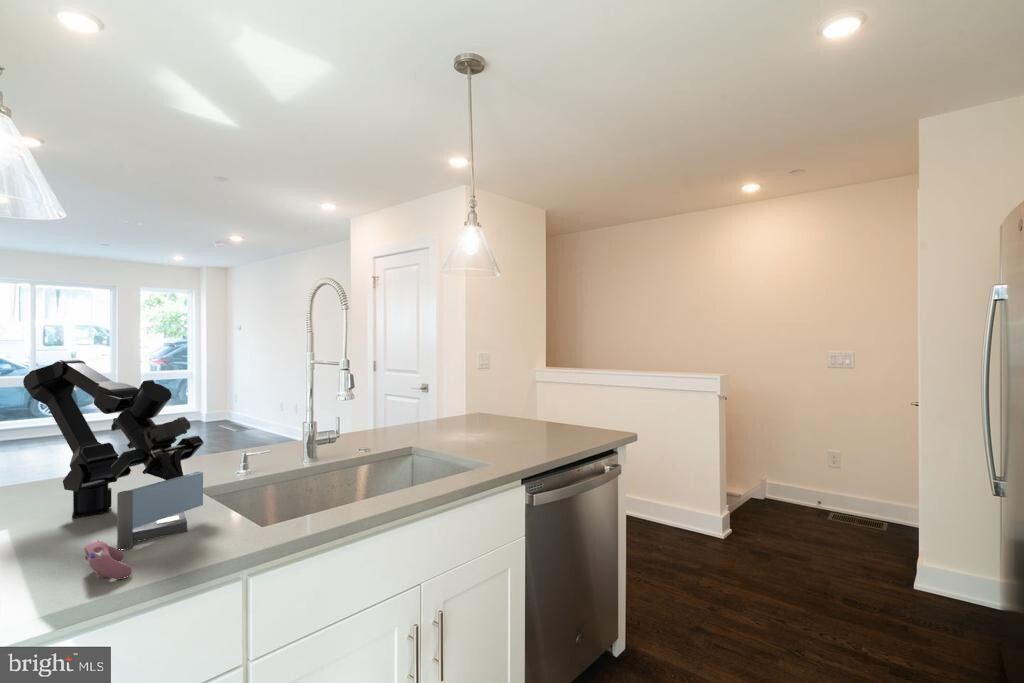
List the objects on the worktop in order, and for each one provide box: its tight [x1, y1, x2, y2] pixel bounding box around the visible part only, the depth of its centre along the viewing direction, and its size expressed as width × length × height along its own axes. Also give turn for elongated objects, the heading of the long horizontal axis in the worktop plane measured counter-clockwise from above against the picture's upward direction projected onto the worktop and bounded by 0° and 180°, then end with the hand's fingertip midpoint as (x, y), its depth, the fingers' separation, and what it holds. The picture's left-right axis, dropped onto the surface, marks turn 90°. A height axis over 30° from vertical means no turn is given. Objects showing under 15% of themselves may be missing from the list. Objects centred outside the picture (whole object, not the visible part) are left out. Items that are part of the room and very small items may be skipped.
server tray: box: [133, 511, 188, 542], centre depth 111 cm, size 11×18×2 cm, turn 37°
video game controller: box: [82, 539, 132, 580], centre depth 88 cm, size 10×5×7 cm, turn 45°
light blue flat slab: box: [116, 471, 204, 551], centre depth 105 cm, size 17×2×11 cm, turn 160°
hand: (182, 483), depth 110 cm, fingers closed
